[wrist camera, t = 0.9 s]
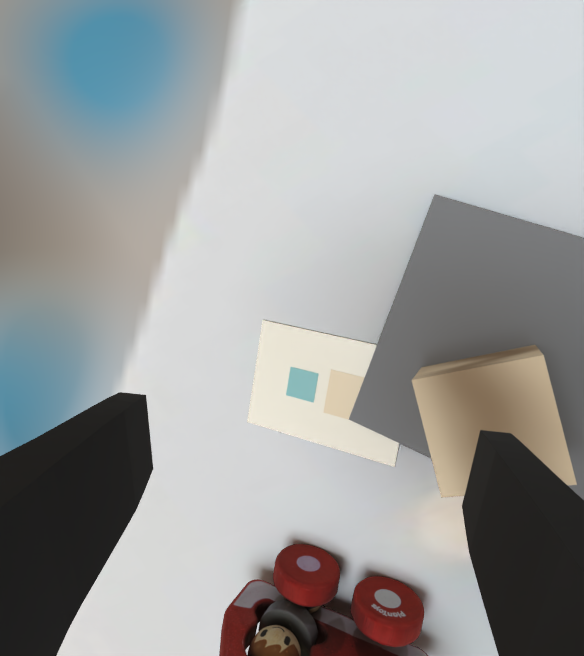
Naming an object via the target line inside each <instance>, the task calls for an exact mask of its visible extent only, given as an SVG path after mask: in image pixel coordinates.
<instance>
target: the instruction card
mask: <svg viewBox="0 0 584 656" xmlns="http://www.w3.org/2000/svg"><path fill="white" fill-rule="evenodd" d="M376 346H377V345H375V344H371V343H366V342H362V341H357V340H353V339H348V338H343V337H339V336H334V335H330V334H325V333H321V332H316V331H312V330H307V329H302V328H298V327H293V326H289V325H284V324H280V323H275V322H270V321H266V320H263V321H262V328H261V334H260V341H259V348H258V354H257V361H256V367H255V374H254V381H253V387H252V394H251V400H250V407H249V413H248V420H247V422H249V423H252V424H255V425H259V426H262V427H265V428H268V429H272V430H275V431H278V432H282V433H285V434H288V435H291V436H295V437H298V438H301V439H305V440H308V441H311V442H314V443H318V444H321V445H324V446H328V447H331V448H334V449H337V450H341V451H344V452H347V453H350V454H354V455H357V456H360V457H364V458H367V459H370V460H373V461H377V462H380V463H383V464H387V465H390V466H393V467H395V462H396V457H397V453H398V448H399V443H398V442H396V441H393V440H391V439H389V438H387V437H385V436H383V435H381V434H378V433H376V432H374V431H372V430H370V429H368V428H366V427H364V426H361V425H359V424H357V423H355V422H353V421H351V420H349V417H350V414H351V412H352V409H353V407H354V404H355V401H356V399H357V396H358V394H359V391H360V388H361V386H362V383H363V380H364V378H365V375H366V373H367V370H368V367H369V365H370V362H371V360H372V357H373V354H374V352H375V349H376Z"/></svg>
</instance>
